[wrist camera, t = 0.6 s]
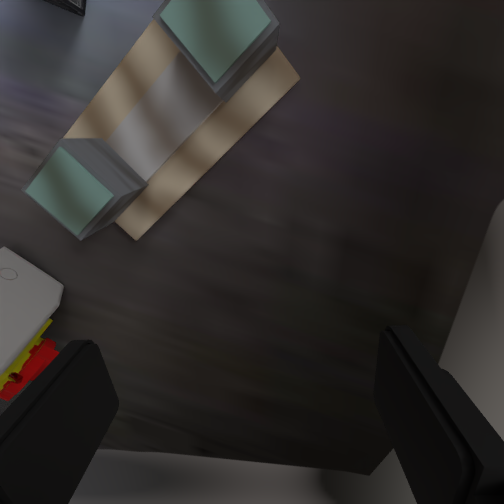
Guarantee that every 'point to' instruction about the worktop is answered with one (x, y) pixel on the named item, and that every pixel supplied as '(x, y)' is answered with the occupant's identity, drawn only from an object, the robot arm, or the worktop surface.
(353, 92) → the worktop surface
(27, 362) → the electrical switch box
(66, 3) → the small box
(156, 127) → the rail board
